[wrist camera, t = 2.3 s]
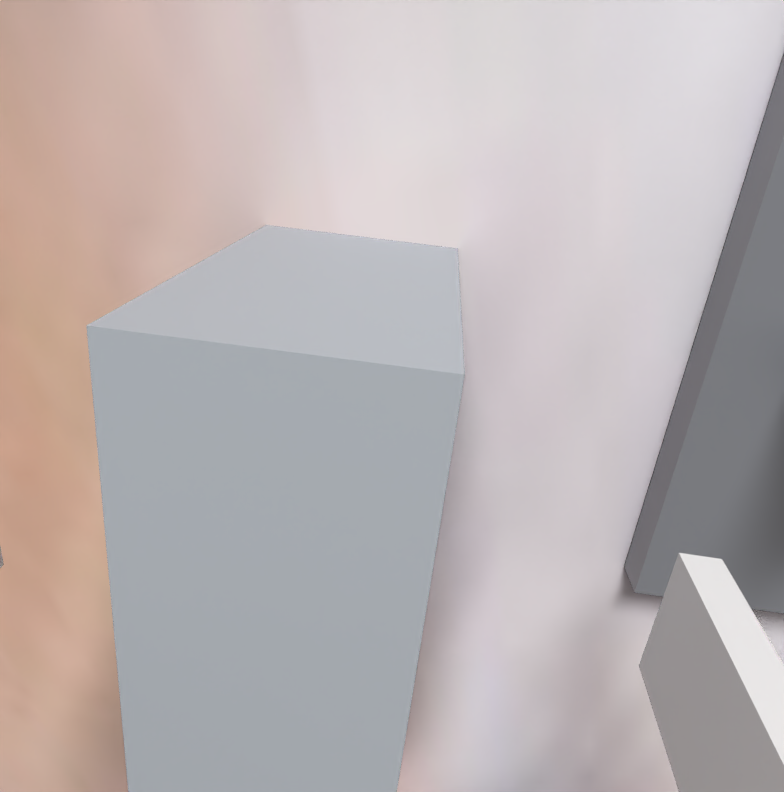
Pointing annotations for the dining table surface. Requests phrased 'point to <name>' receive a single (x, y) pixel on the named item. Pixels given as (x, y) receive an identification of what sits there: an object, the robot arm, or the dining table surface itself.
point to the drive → (276, 506)
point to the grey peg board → (730, 407)
